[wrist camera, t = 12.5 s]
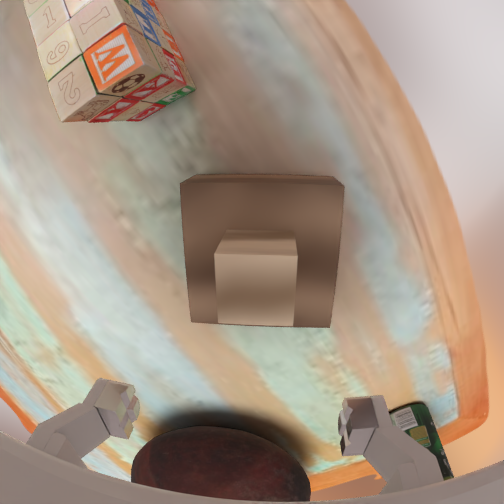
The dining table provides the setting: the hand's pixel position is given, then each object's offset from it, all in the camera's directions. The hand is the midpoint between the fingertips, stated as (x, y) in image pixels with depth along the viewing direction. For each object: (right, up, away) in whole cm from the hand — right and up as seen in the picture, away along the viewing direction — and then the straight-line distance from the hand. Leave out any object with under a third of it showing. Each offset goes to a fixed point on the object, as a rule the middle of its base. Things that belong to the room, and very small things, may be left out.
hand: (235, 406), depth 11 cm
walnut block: (+2, +7, +18) cm, 20 cm away
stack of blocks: (-11, +28, +12) cm, 32 cm away
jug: (-3, -25, +31) cm, 40 cm away
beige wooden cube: (+1, +5, +14) cm, 15 cm away
